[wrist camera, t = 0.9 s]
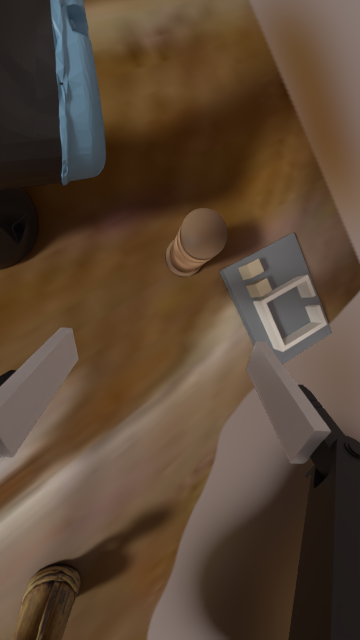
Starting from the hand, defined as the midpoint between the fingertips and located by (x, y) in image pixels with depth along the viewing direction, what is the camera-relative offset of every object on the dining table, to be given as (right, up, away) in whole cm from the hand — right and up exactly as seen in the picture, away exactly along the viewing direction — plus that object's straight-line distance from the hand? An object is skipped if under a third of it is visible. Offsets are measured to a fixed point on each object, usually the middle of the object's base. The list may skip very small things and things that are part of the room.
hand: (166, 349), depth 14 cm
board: (+20, +6, +24) cm, 32 cm away
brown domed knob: (+2, +13, +20) cm, 24 cm away
